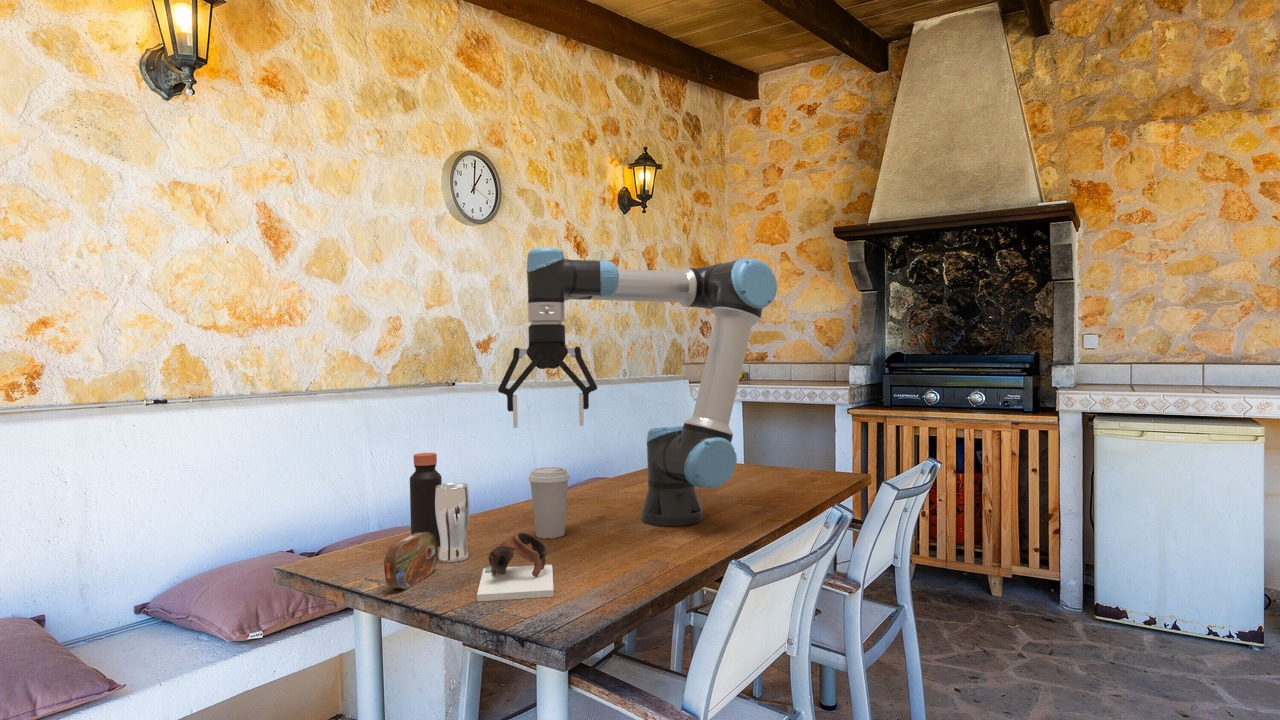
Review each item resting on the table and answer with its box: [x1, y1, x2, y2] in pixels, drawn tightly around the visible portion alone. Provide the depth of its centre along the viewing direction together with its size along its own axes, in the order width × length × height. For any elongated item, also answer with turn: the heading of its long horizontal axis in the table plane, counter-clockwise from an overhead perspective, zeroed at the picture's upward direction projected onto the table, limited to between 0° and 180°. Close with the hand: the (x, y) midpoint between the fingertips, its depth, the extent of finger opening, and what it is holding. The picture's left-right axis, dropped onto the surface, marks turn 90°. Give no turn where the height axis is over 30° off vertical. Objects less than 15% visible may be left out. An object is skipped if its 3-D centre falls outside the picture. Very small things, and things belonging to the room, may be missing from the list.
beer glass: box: [435, 482, 471, 563], centre depth 154 cm, size 7×7×15 cm
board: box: [476, 564, 555, 602], centre depth 136 cm, size 13×15×2 cm
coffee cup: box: [527, 466, 571, 539], centre depth 171 cm, size 10×10×15 cm
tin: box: [383, 532, 439, 590], centre depth 139 cm, size 15×3×8 cm, turn 166°
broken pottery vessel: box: [488, 531, 549, 577], centre depth 138 cm, size 12×10×8 cm
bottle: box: [409, 452, 443, 547], centre depth 165 cm, size 7×7×20 cm
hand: (548, 426), depth 155 cm, fingers open, 13 cm apart
